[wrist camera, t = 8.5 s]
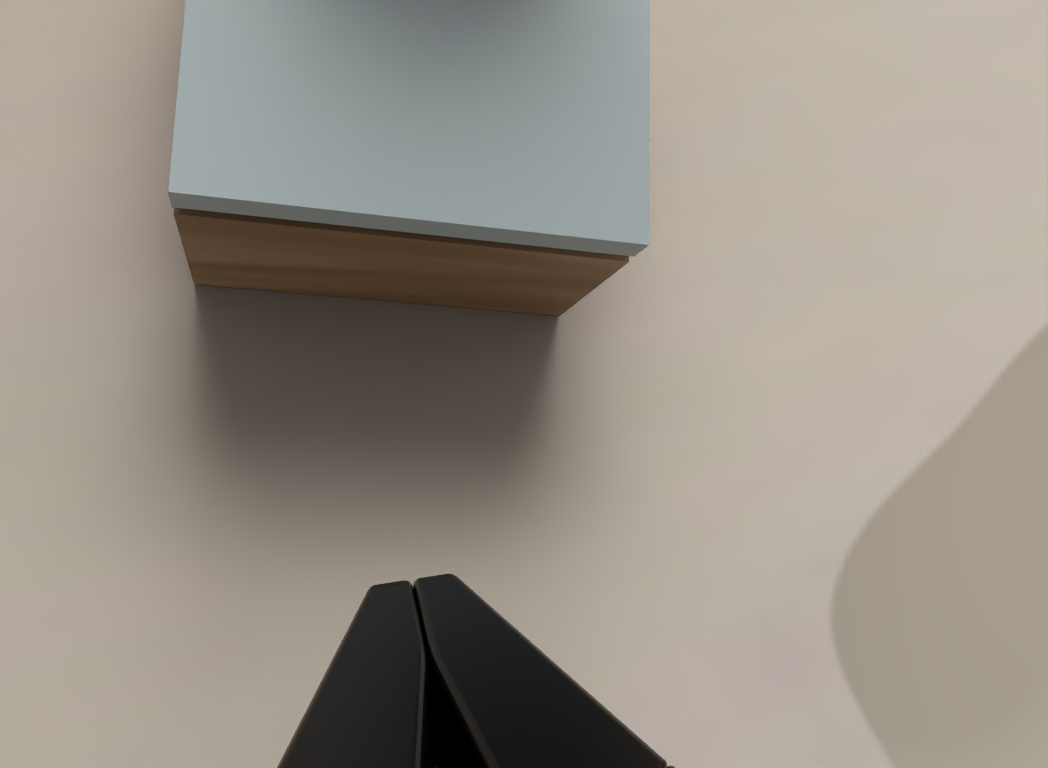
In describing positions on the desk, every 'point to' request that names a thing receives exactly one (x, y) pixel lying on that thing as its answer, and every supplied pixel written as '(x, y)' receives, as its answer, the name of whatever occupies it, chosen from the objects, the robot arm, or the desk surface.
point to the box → (386, 264)
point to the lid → (420, 117)
